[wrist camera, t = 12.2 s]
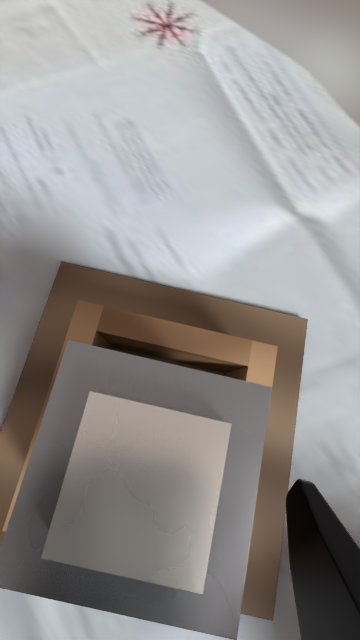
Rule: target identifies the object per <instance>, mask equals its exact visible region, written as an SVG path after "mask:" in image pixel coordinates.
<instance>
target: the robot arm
mask: <svg viewBox="0 0 360 640" xmlns="http://www.w3.org/2000/svg"><path fill="white" fill-rule="evenodd" d="M286 514H287V531H288V548H289V561H290V568H291V575H292V582H293V588H294V595H295V602H296V608H297V615H298V621H299V628H300V634H301V640H360V548H359V547H358V546H357V544H356V543H355V541H354V540H353V538H352V537H351V536H350V534H349V533H348V531H347V530H346V529H345V527H344V526H343V524H342V523H341V522H340V520H339V519H338V517H337V516H336V514H335V513H334V512H333V510H332V509H331V507H330V506H329V505H328V503H327V502H326V500H325V499H324V497H323V496H322V495H321V493H320V492H319V490H318V489H317V488H316V486H315V485H314V484H313V483H312V482H310V481H306V480H302V479H298V480H296V482H295V483H294V485H293V486H292V487H291V489H290V490H289V492H288V493H287V496H286Z"/></svg>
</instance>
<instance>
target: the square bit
mask: <svg viewBox="0 0 360 640" xmlns="http://www.w3.org/2000/svg"><path fill="white" fill-rule="evenodd" d="M271 390H272V387H269V386H264V385H260V384H256V383H252V382H247V381H243V380H239V379H234V378H230V377H226V376H221V375H217V374H213V373H209V372H204V371H200V370H196V369H191V368H187V367H183V366H178V365H174V364H170V363H166V362H161V361H157V360H153V359H148V358H144V357H140V356H135V355H131V354H127V353H123V352H118V351H114V350H110V349H105V348H101V347H97V346H92V345H88V344H84V343H80V342H75V341H71V340H68V342H67V345H66V348H65V352H64V355H63V358H62V361H61V364H60V367H59V370H58V373H57V376H56V379H55V382H54V385H53V388H52V391H51V394H50V398H49V401H48V404H47V407H46V410H45V413H44V416H43V419H42V422H41V425H40V428H39V431H38V434H37V437H36V440H35V443H34V447H33V450H32V453H31V456H30V459H29V462H28V465H27V468H26V471H25V474H24V477H23V480H22V483H21V486H20V489H19V493H18V496H17V499H16V502H15V505H14V508H13V511H12V514H11V517H10V520H9V523H8V526H7V529H6V532H5V535H4V539H3V542H2V545H1V548H0V588H3V589H8V590H12V591H17V592H21V593H26V594H30V595H35V596H39V597H44V598H48V599H53V600H58V601H62V602H67V603H71V604H76V605H80V606H85V607H89V608H94V609H98V610H103V611H107V612H112V613H116V614H121V615H125V616H130V617H134V618H139V619H143V620H148V621H152V622H157V623H161V624H166V625H170V626H175V627H179V628H184V629H188V630H193V631H197V632H202V633H206V634H211V635H215V636H220V637H224V638H229V639H234V640H237V633H238V626H239V619H240V612H241V605H242V598H243V590H244V583H245V576H246V569H247V562H248V555H249V547H250V540H251V533H252V526H253V519H254V512H255V504H256V497H257V490H258V483H259V476H260V469H261V461H262V454H263V447H264V440H265V433H266V426H267V418H268V411H269V404H270V397H271Z"/></svg>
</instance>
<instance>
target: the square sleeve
mask: <svg viewBox="0 0 360 640" xmlns="http://www.w3.org/2000/svg"><path fill="white" fill-rule="evenodd" d="M307 320H308V319H305V318H300V317H296V316H292V315H288V314H283V313H279V312H275V311H271V310H266V309H262V308H258V307H253V306H249V305H245V304H241V303H236V302H232V301H228V300H224V299H219V298H215V297H211V296H207V295H202V294H198V293H194V292H190V291H185V290H181V289H177V288H173V287H168V286H164V285H160V284H156V283H151V282H147V281H143V280H139V279H134V278H130V277H126V276H122V275H117V274H113V273H109V272H105V271H100V270H96V269H92V268H88V267H83V266H79V265H75V264H71V263H66V262H62V261H61V264H60V267H59V270H58V273H57V276H56V278H55V281H54V284H53V287H52V290H51V292H50V295H49V298H48V301H47V304H46V306H45V309H44V312H43V315H42V318H41V320H40V323H39V326H38V329H37V332H36V334H35V337H34V340H33V343H32V346H31V349H30V351H29V354H28V357H27V360H26V363H25V365H24V368H23V371H22V374H21V377H20V379H19V382H18V385H17V388H16V391H15V393H14V396H13V399H12V402H11V405H10V407H9V410H8V413H7V416H6V419H5V421H4V424H3V427H2V430H1V433H0V548H1V545H2V542H3V539H4V535H5V532H6V529H7V526H8V523H9V520H10V517H11V514H12V511H13V508H14V505H15V502H16V499H17V496H18V493H19V489H20V486H21V483H22V480H23V477H24V474H25V471H26V468H27V465H28V462H29V459H30V456H31V453H32V450H33V447H34V443H35V440H36V437H37V434H38V431H39V428H40V425H41V422H42V419H43V416H44V413H45V410H46V407H47V404H48V401H49V398H50V394H51V391H52V388H53V385H54V382H55V379H56V376H57V373H58V370H59V367H60V364H61V361H62V358H63V355H64V352H65V348H66V345H67V342H68V340H71V341H75V342H80V343H84V344H88V345H92V346H97V347H101V348H105V349H110V350H114V351H118V352H123V353H127V354H131V355H135V356H140V357H144V358H148V359H153V360H157V361H161V362H166V363H170V364H174V365H178V366H183V367H187V368H191V369H196V370H200V371H204V372H209V373H213V374H217V375H221V376H226V377H230V378H234V379H239V380H243V381H247V382H252V383H256V384H260V385H264V386H269V387H272V390H271V397H270V404H269V411H268V418H267V426H266V433H265V440H264V447H263V454H262V461H261V469H260V476H259V483H258V490H257V497H256V504H255V512H254V519H253V526H252V533H251V540H250V547H249V555H248V562H247V569H246V576H245V583H244V590H243V598H242V605H241V612H240V614H245V615H249V616H254V617H258V618H263V619H267V620H272V621H273V616H274V607H275V598H276V590H277V581H278V572H279V564H280V555H281V546H282V538H283V529H284V520H285V511H286V496H287V493H288V485H289V477H290V468H291V459H292V451H293V442H294V433H295V425H296V416H297V407H298V399H299V390H300V381H301V373H302V364H303V355H304V346H305V338H306V329H307Z"/></svg>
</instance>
